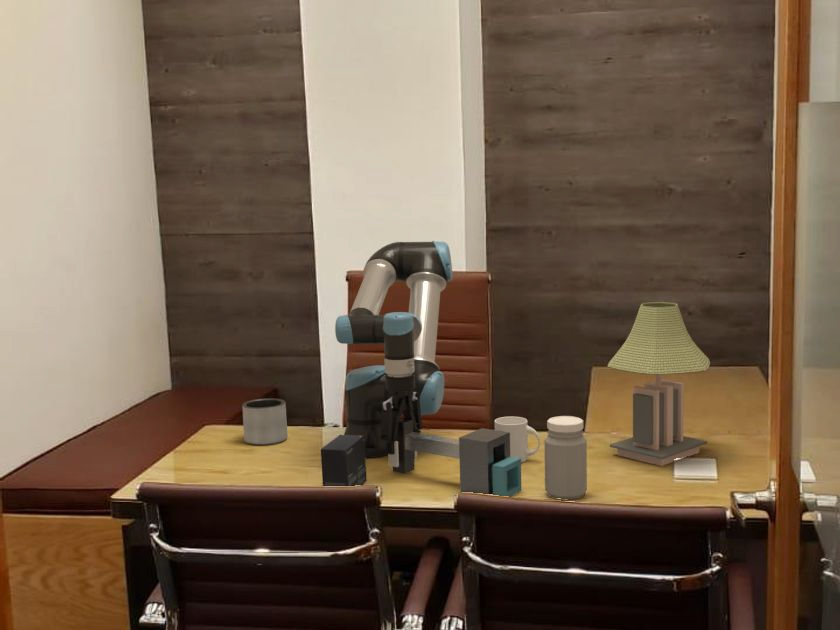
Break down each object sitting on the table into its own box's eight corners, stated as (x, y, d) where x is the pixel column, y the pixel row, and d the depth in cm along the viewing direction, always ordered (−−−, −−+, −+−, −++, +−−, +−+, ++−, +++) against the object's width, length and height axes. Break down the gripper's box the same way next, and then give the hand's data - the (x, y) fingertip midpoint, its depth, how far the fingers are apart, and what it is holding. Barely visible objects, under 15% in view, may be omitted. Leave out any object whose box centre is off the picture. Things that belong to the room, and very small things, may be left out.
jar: (544, 487, 247) (543, 415, 245) (585, 487, 246) (584, 414, 244) (545, 501, 238) (544, 425, 235) (588, 501, 237) (587, 425, 234)
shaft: (392, 471, 261) (390, 421, 259) (402, 467, 265) (400, 417, 263) (485, 489, 245) (483, 435, 243) (494, 485, 248) (492, 432, 246)
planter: (245, 436, 303) (243, 399, 302) (288, 433, 305) (286, 396, 303) (242, 447, 291) (240, 409, 289) (287, 445, 292) (285, 406, 291)
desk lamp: (675, 475, 254) (676, 315, 248) (585, 453, 275) (584, 305, 269) (732, 454, 270) (734, 303, 264) (643, 434, 291) (644, 294, 285)
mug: (536, 466, 265) (536, 426, 263) (491, 463, 268) (490, 423, 267) (543, 457, 273) (543, 417, 271) (499, 454, 277) (498, 415, 275)
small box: (341, 479, 259) (339, 433, 257) (367, 481, 257) (365, 435, 255) (322, 496, 246) (319, 448, 244) (348, 498, 244) (346, 449, 242)
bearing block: (460, 492, 246) (458, 437, 244) (483, 481, 254) (481, 428, 252) (488, 498, 241) (487, 442, 239) (510, 486, 249) (509, 432, 247)
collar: (493, 497, 241) (492, 465, 240) (510, 488, 248) (510, 456, 246) (503, 500, 240) (503, 467, 238) (521, 490, 246) (520, 458, 245)
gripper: (387, 383, 248) (390, 474, 251) (435, 368, 264) (437, 454, 267) (363, 379, 252) (366, 470, 256) (411, 365, 268) (414, 450, 272)
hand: (402, 462), depth 262 cm, fingers open, 7 cm apart
